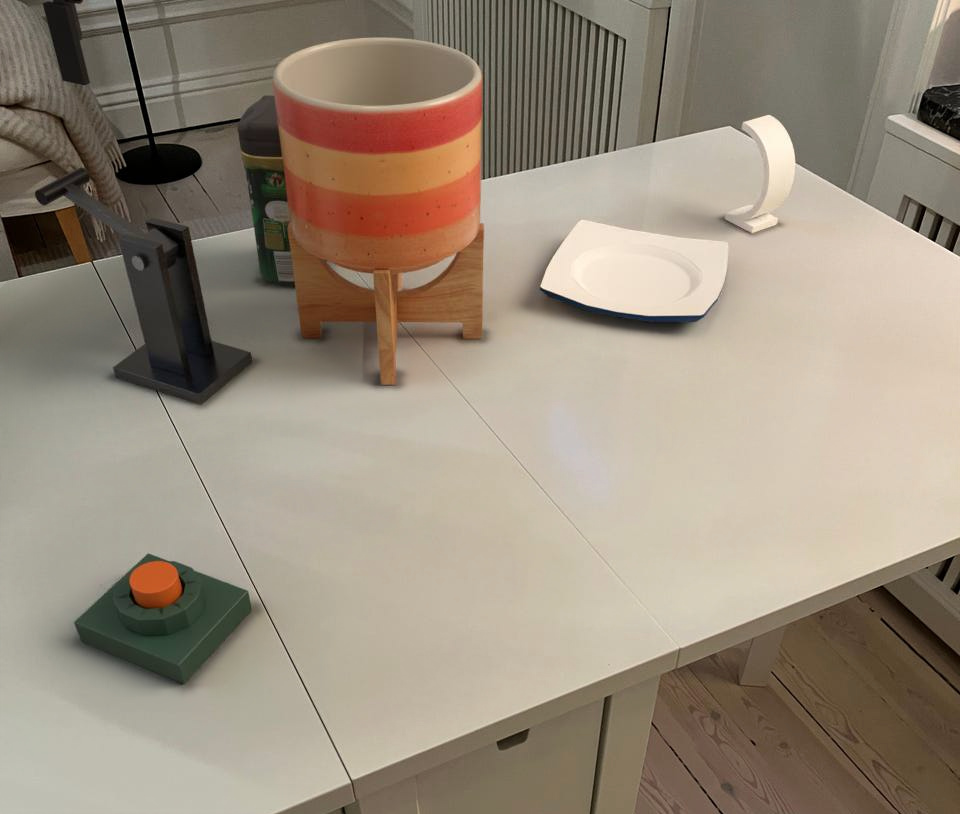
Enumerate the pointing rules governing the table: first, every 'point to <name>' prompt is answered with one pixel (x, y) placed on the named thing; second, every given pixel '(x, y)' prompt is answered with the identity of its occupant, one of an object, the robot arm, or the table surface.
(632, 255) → the plate
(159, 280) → the bracket
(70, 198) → the lever
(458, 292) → the planter
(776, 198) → the headphone stand
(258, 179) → the coffee jar
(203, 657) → the control block
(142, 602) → the button
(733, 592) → the table surface
